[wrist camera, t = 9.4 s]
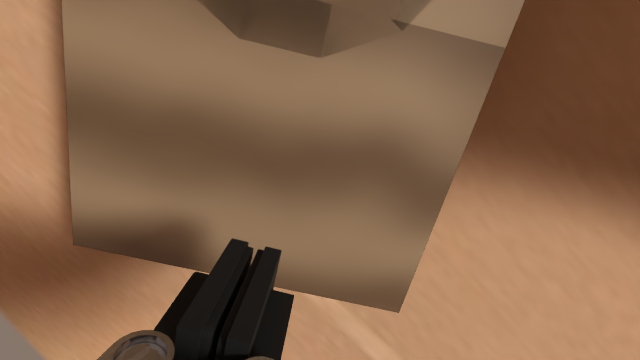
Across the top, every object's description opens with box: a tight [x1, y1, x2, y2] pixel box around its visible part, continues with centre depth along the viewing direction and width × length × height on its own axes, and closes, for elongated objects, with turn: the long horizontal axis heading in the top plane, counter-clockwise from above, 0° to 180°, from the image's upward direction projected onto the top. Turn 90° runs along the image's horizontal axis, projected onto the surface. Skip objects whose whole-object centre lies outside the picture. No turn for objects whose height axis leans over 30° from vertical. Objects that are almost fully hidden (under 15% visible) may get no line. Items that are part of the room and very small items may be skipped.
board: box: [62, 0, 525, 313], centre depth 14 cm, size 24×16×4 cm, turn 167°
